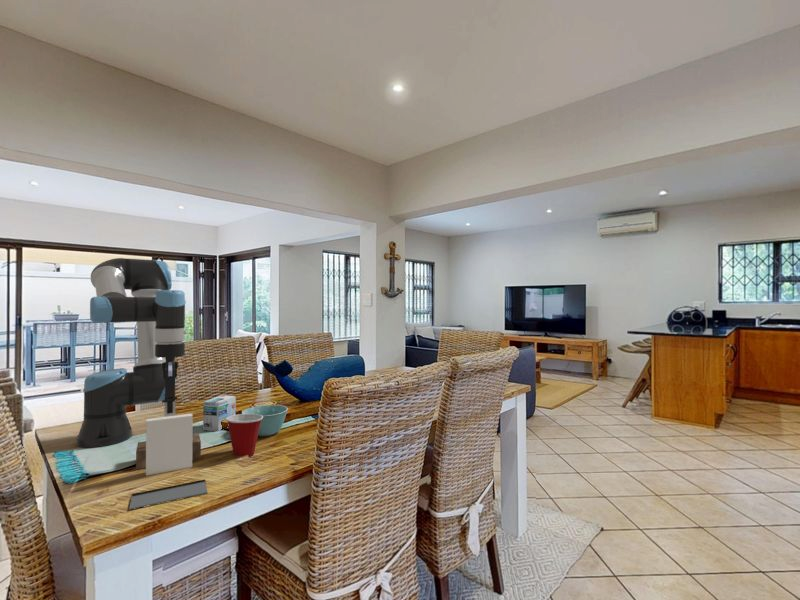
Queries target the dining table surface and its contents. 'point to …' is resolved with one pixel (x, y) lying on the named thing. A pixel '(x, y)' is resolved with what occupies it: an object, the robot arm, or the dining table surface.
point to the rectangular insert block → (169, 443)
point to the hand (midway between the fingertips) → (169, 423)
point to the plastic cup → (244, 433)
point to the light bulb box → (217, 411)
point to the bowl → (269, 418)
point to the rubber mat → (168, 494)
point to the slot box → (142, 451)
